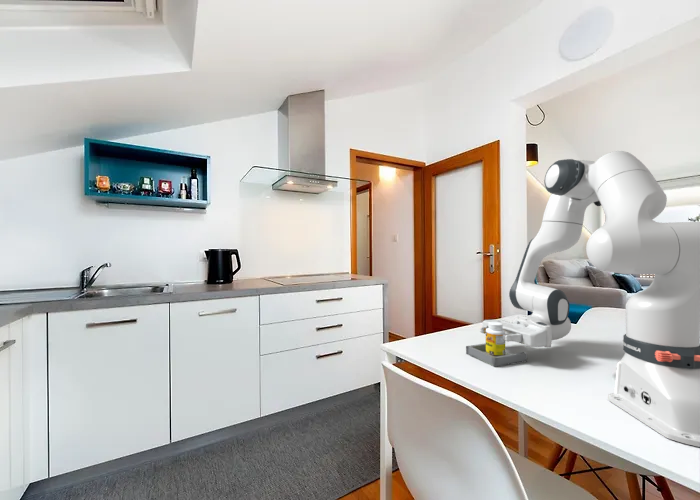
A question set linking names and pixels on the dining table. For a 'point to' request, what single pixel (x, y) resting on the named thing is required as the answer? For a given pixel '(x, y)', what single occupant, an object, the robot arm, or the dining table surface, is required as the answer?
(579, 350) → the dining table surface
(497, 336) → the supplement bottle
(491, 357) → the tray
